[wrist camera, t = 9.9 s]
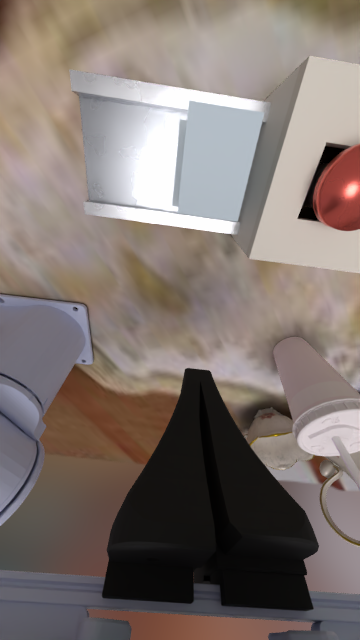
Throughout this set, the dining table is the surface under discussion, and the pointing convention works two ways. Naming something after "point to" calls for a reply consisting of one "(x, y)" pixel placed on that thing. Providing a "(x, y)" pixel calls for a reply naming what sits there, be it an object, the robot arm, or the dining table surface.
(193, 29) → the dining table surface
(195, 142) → the carriage
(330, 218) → the red push button
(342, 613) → the robot arm
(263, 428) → the chinaware
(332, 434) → the smoothie
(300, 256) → the end cabinet
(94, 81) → the rail
